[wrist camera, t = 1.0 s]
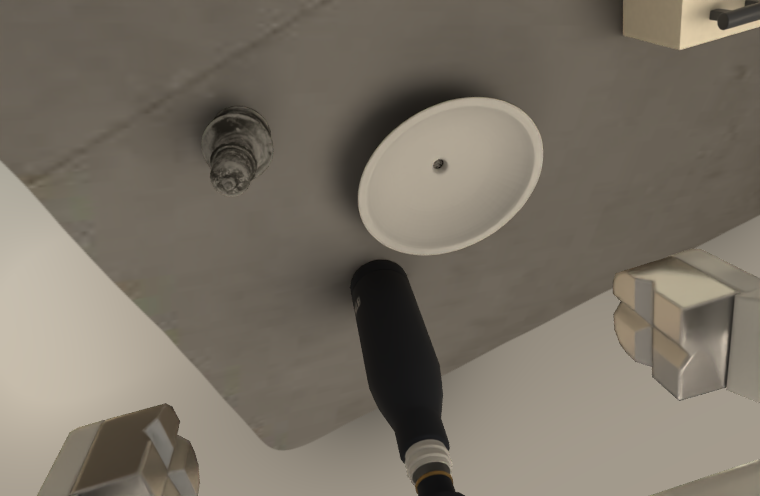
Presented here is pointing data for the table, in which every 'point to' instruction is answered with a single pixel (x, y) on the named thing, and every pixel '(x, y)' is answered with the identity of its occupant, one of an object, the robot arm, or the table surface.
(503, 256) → the table surface
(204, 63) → the table surface
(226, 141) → the salt shaker
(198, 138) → the table surface
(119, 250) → the table surface
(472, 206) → the dish
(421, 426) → the black bottle
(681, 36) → the bin
